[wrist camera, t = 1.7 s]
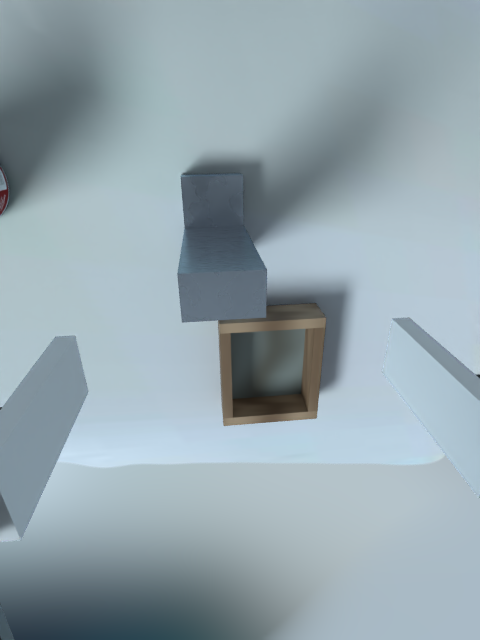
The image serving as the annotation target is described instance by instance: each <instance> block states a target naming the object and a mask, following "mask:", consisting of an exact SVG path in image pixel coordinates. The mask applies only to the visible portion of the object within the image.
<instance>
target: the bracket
mask: <svg viewBox="0 0 480 640" xmlns="http://www.w3.org/2000/svg"><path fill="white" fill-rule="evenodd" d="M181 187H182V200H183V212H184V225H185V229H184V235H183V242H182V248H181V254H180V261H179V267H178V285H179V296H180V306H181V317H182V322H197V321H215V320H232V319H250V318H266V295H267V269H266V267H265V265H264V263H263V261H262V259H261V257H260V255H259V254H258V252H257V250H256V248H255V246H254V244H253V242H252V240H251V238H250V236H249V235H248V233H247V231H246V229H245V227H244V202H243V175H242V174H241V173H232V174H191V175H181Z"/></svg>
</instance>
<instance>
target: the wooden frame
mask: <svg viewBox="0 0 480 640" xmlns="http://www.w3.org/2000/svg"><path fill="white" fill-rule="evenodd" d="M325 326H326V317H325V315H324V314H323V313H322V311H321V310H320V308H319V307H318V306H317V304H316V303H309V304H291V305H272V306H266V318H250V319H232V320H218V330H219V352H220V374H221V396H222V412H223V423H224V426H229V425H241V424H254V423H266V422H278V421H291V420H303V419H316V418H317V409H318V398H319V388H320V378H321V367H322V357H323V347H324V336H325Z"/></svg>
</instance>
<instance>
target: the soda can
mask: <svg viewBox="0 0 480 640" xmlns="http://www.w3.org/2000/svg"><path fill="white" fill-rule="evenodd" d="M8 201H9V184H8V180H7V177H6V174H5V172H4V170H3V168H2V167H1V165H0V216H1V215H2V213H3V212H4V211H5V209H6V207H7V204H8Z"/></svg>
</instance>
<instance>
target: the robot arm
mask: <svg viewBox="0 0 480 640" xmlns="http://www.w3.org/2000/svg"><path fill="white" fill-rule="evenodd" d="M382 373H383V374H384V376H385V377H386V378H387V380H388V381H389V382H390V384H391V385H392V386H393V387H394V389H395V390H396V391H397V393H398V394H399V395H400V397H401V398H402V399H403V401H404V402H405V403H406V404H407V406H408V407H409V408H410V410H411V411H412V412H413V414H414V415H415V416H416V417H417V419H418V420H419V421H420V423H421V424H422V425H423V427H424V428H425V429H426V430H427V432H428V433H429V434H430V436H431V437H432V438H433V440H434V441H435V442H436V443H437V445H438V446H439V447H440V449H441V450H442V451H443V453H444V454H445V455H446V456H447V458H448V459H449V460H450V462H451V463H452V464H453V465H454V467H455V468H456V469H457V471H458V472H459V473H460V475H461V476H462V477H463V479H464V480H465V481H466V482H467V484H468V485H469V486H470V488H471V489H472V490H473V492H474V493H475V494H476V495H477V497H478V498H480V375H475V374H474V373H473V372H472V371H471V370H469V369H468V368H467V367H466V366H465V365H464V364H463V363H461V362H460V361H459V360H458V359H457V358H456V357H454V356H453V355H452V354H451V353H450V352H449V351H447V350H446V349H445V348H444V347H443V346H442V345H440V344H439V343H438V342H437V341H436V340H435V339H434V338H432V337H431V336H430V335H429V334H428V333H427V332H425V331H424V330H423V329H422V328H421V327H420V326H418V325H417V324H416V323H415V322H414V321H413V320H412V319H410V318H394V319H392V322H391V327H390V333H389V338H388V344H387V349H386V354H385V360H384V365H383V371H382ZM87 394H88V388H87V383H86V379H85V375H84V371H83V367H82V362H81V358H80V354H79V350H78V346H77V341H76V337H75V336H59V337H55V338H54V339H53V341H52V342H51V343H50V344H49V346H48V347H47V348H46V350H45V351H44V352H43V354H42V355H41V356H40V358H39V359H38V360H37V362H36V363H35V364H34V366H33V367H32V368H31V370H30V371H29V372H28V374H27V375H26V376H25V378H24V379H23V380H22V382H21V383H20V384H19V386H18V387H17V388H16V390H15V391H14V392H13V394H12V395H11V396H10V398H9V399H8V400H7V402H6V403H5V404H4V406H3V407H0V542H6V541H17V540H21V539H22V537H23V534H24V532H25V530H26V528H27V526H28V524H29V521H30V519H31V517H32V515H33V513H34V510H35V508H36V506H37V504H38V501H39V499H40V497H41V495H42V493H43V491H44V488H45V486H46V484H47V482H48V480H49V477H50V475H51V473H52V471H53V469H54V466H55V464H56V462H57V460H58V458H59V455H60V453H61V451H62V449H63V447H64V444H65V442H66V440H67V438H68V436H69V433H70V431H71V429H72V427H73V425H74V422H75V420H76V418H77V416H78V414H79V411H80V409H81V407H82V405H83V403H84V400H85V398H86V396H87ZM0 640H14V638H13V635H12V633H11V630H10V627H9V625H8V622H7V620H6V617H5V614H4V612H3V609H2V607H1V604H0Z"/></svg>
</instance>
